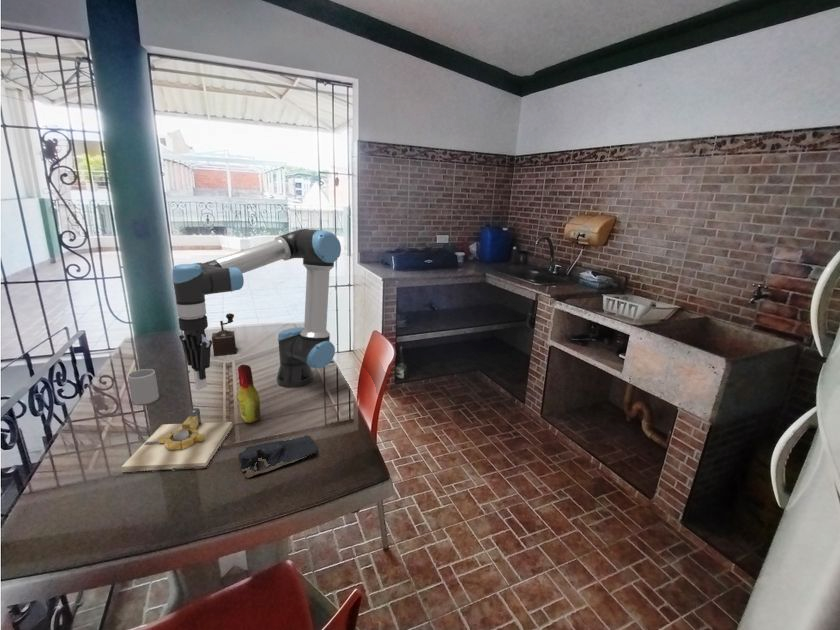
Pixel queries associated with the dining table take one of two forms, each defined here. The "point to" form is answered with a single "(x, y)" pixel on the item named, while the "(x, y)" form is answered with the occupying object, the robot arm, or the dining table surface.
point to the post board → (197, 454)
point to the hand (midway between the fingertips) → (201, 387)
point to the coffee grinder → (224, 340)
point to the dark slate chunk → (277, 452)
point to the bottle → (248, 395)
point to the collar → (189, 425)
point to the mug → (143, 386)
